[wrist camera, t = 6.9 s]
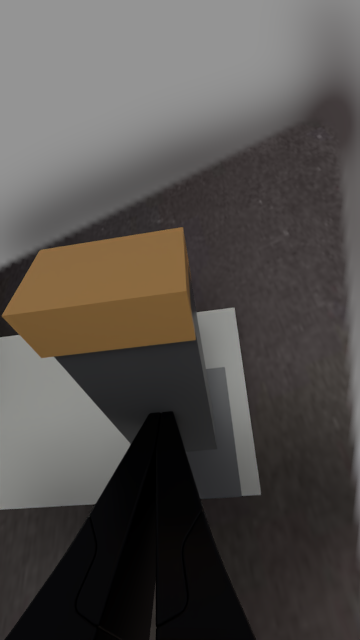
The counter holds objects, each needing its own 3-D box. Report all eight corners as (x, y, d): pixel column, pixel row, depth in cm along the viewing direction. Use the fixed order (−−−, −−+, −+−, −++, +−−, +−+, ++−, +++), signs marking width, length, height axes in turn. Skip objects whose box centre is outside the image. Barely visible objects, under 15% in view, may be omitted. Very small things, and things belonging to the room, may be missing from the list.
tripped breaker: (218, 456, 12) (186, 290, 5) (139, 462, 12) (1, 316, 5) (212, 408, 13) (182, 226, 6) (143, 414, 14) (40, 249, 7)
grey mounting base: (250, 464, 17) (261, 495, 13) (-46, 484, 19) (-116, 516, 15) (229, 320, 18) (234, 307, 14) (-40, 353, 20) (-103, 350, 16)
